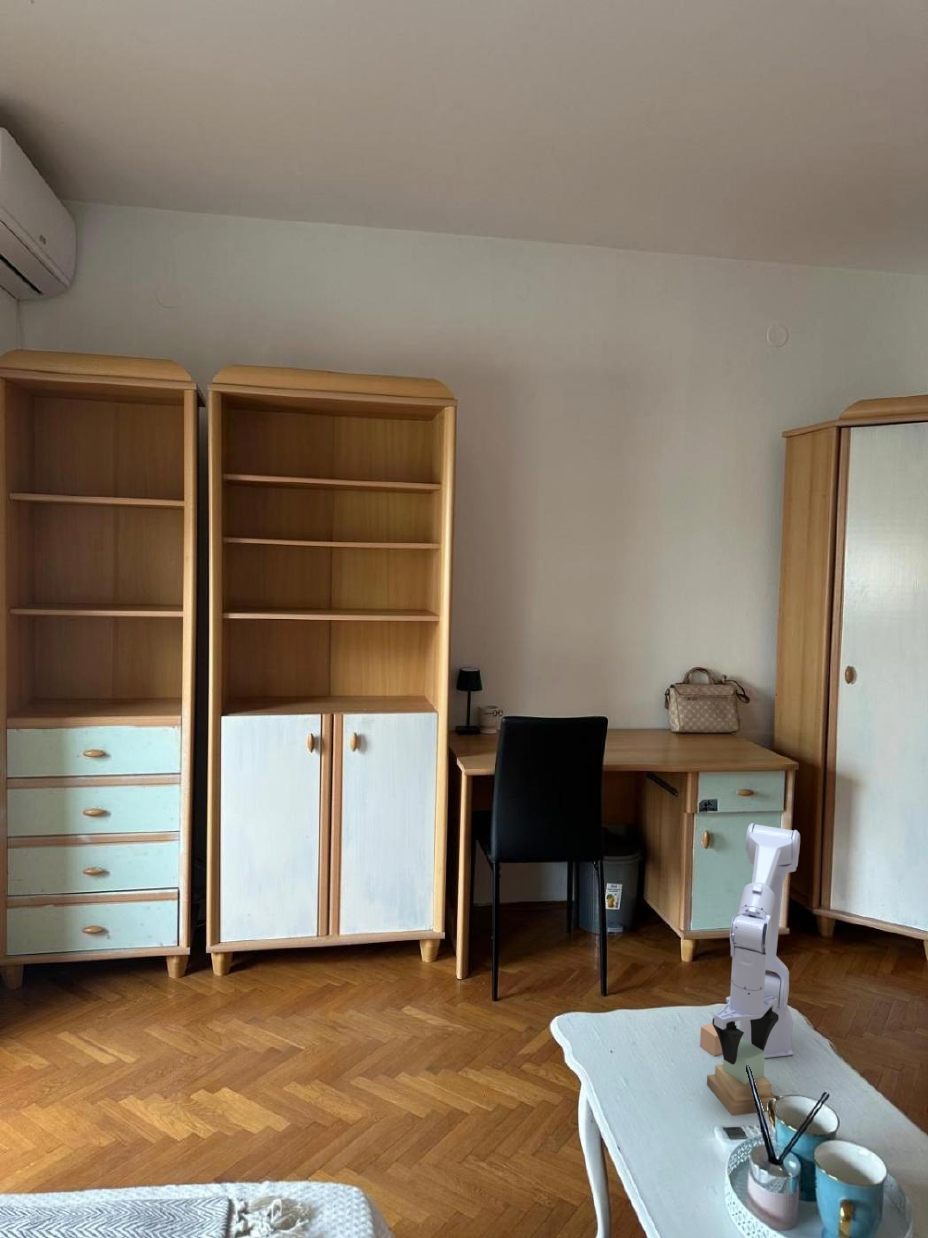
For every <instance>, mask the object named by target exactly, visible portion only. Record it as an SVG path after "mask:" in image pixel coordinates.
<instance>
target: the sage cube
mask: <svg viewBox="0 0 928 1238" xmlns="http://www.w3.org/2000/svg"><path fill="white" fill-rule="evenodd" d="M765 1059H766V1058H765V1052H764V1051H763V1050H761V1049H759V1048H758V1047H756V1046H754V1045H753V1044H751V1043H749V1042H748V1041H746V1040H745V1039H743V1038H742V1039H741V1040H740V1043H739V1046H738V1052H737V1059H736V1062H735V1064H733V1065H732V1064H730V1063H729V1062H727V1061H726V1060H724V1057H723V1061H722V1064H723V1071H725V1072H726V1073H728V1074H729V1075H731V1076H732V1077H734V1078H735V1079H737V1080H738V1081H740V1082H741V1083H743V1084H744V1085H745V1084H748V1083H749V1078H748V1074H747V1072H746V1065H749V1067H750V1069H751V1071H752V1075H753V1078H754V1080H757V1079H759V1078H761V1077H763V1076H764V1075H765V1074H764V1072H765ZM764 1077H765V1076H764Z"/></svg>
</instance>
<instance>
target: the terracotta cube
mask: <svg viewBox="0 0 928 1238" xmlns="http://www.w3.org/2000/svg"><path fill="white" fill-rule="evenodd" d="M699 1040H700V1041H699V1042H700V1043H699V1047H700V1048H703V1050H705V1051H707V1052H708V1053H710V1054H711V1055H712V1056H713V1057H717V1056H720V1055H723V1052H722V1047H721V1043H720V1040H719V1037H718V1035H717V1032H716V1030H715V1028H714V1026H713V1025H712V1023H708V1024H705V1025H701V1026H700V1038H699Z"/></svg>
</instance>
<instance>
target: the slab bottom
mask: <svg viewBox="0 0 928 1238" xmlns="http://www.w3.org/2000/svg"><path fill="white" fill-rule="evenodd" d="M706 1086H707V1087H708V1088H709V1089H710V1090H711V1092H712V1093H713V1094H714V1095H715V1097H716V1098H717V1099H718V1100H719V1101H720V1102H721V1104H722V1105H723V1107H724V1108H725V1109H726V1110H727V1111H728V1112H729V1114H730V1115H731V1116H740V1115H747V1114H748V1115H749V1114H756V1113H757V1114H758V1112H757V1109H756V1106H755V1101H754V1099H750V1100H742V1101H734V1100H733V1098H732V1097H731V1096H730V1095H729V1094H728V1093H727V1091H726V1090H725V1089H724V1088H723V1087H722V1086H721V1084H720V1083H719V1082H718V1081H717V1080H716V1079H715V1073H714V1074H707V1075H706ZM774 1096H776V1095H775V1094H774V1093H773V1092H772V1091H771V1096H770V1097H765V1098H760V1100H761V1103H762V1106H763V1109H764V1112H763V1113H766V1112H768V1111H767V1103H768V1101H769V1100H770V1098H772V1097H774Z"/></svg>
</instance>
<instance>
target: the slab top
mask: <svg viewBox="0 0 928 1238" xmlns="http://www.w3.org/2000/svg"><path fill="white" fill-rule="evenodd" d="M714 1074H715V1079H716V1080H717V1081H718V1082H719V1083H720V1084H721V1086H722V1087H723V1088H724V1089H725V1090H726V1091H727V1093H728V1094H729V1095H730V1096H731V1097H732V1098H733V1100H734V1101H742V1100H750V1099H754V1098H753V1095H752V1091H751V1088H750V1085H749V1083H748V1084H745V1085H744V1084H743V1083H741V1082H740V1081H738V1080H737V1079H735V1078H734V1077H732V1076H731V1075H729V1074H728V1073H726V1072H725V1071H723V1063H722V1064H715V1066H714ZM755 1083H756V1086H757V1091H758V1093H759V1097H760V1098H765V1097H770V1096H771V1092H772V1091H771V1090H772V1083H771V1082H770V1080H768V1079H767V1078H766V1077H765V1076H763V1077H761V1078H759V1079H757V1080H755Z"/></svg>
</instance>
